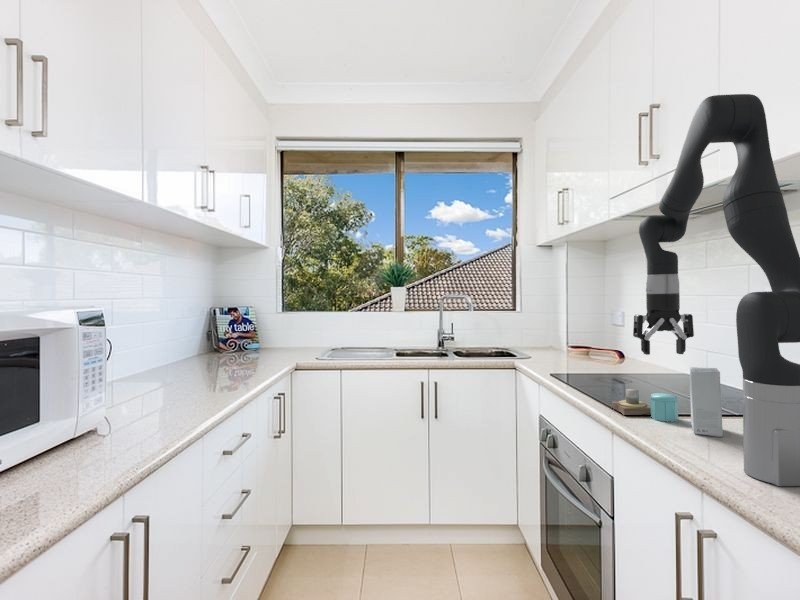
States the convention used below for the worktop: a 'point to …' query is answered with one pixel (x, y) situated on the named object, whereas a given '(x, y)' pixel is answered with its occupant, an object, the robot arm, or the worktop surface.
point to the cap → (664, 407)
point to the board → (631, 404)
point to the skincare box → (706, 401)
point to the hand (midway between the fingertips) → (663, 354)
